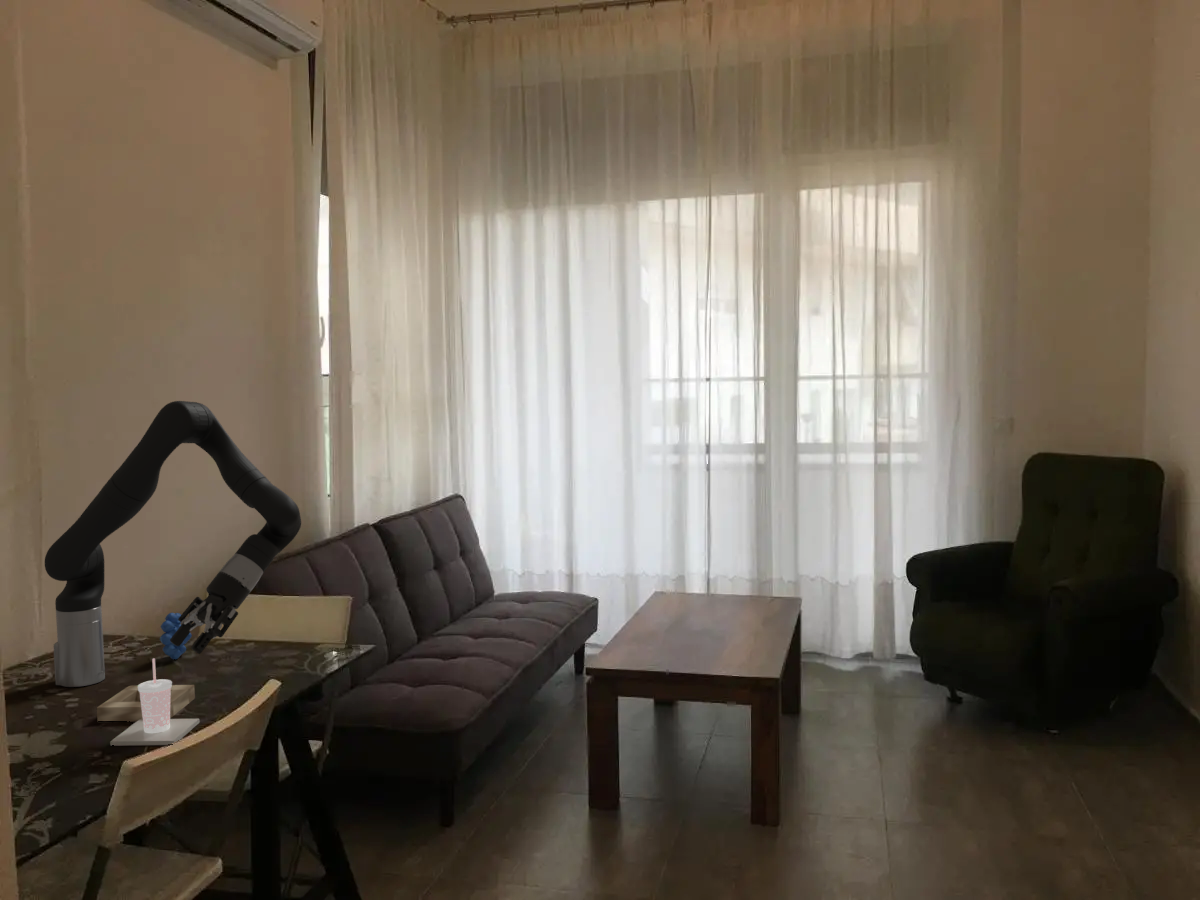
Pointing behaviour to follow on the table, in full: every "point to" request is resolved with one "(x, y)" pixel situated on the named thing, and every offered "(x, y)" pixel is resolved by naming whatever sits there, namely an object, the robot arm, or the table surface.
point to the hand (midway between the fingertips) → (184, 647)
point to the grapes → (170, 628)
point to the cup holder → (129, 703)
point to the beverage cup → (155, 703)
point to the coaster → (140, 737)
